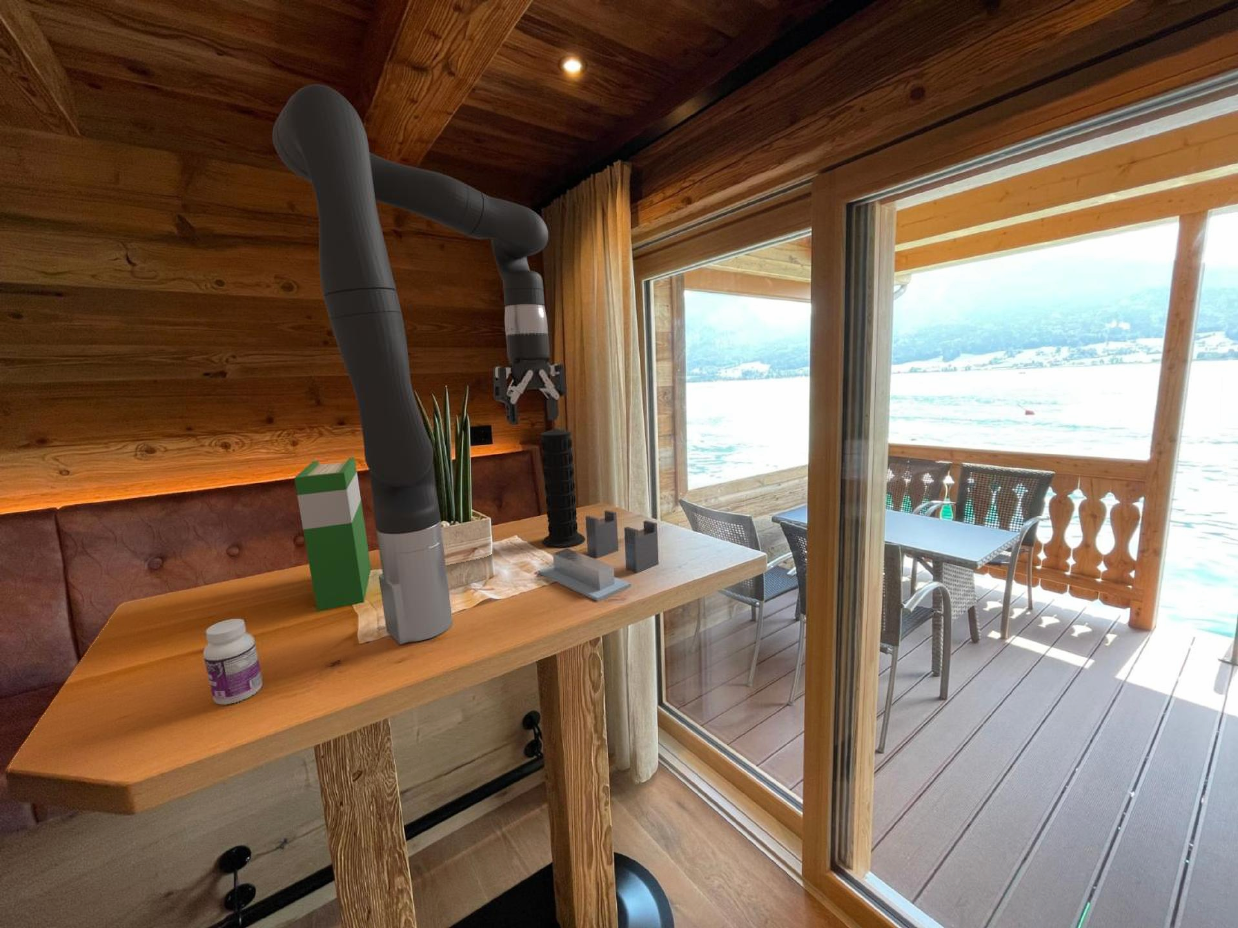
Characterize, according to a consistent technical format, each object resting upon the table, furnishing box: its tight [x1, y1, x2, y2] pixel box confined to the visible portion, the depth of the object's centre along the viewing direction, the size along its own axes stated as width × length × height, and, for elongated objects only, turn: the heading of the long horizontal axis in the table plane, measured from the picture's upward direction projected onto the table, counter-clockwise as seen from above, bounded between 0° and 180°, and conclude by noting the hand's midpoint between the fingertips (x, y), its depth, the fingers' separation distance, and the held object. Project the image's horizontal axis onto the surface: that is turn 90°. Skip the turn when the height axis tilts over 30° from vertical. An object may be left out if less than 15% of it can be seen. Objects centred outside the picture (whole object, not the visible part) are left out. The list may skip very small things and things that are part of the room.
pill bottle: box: [202, 618, 263, 706], centre depth 67 cm, size 5×5×10 cm
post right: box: [623, 519, 659, 574], centre depth 102 cm, size 6×3×9 cm, turn 133°
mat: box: [538, 565, 632, 602], centre depth 98 cm, size 8×18×1 cm, turn 43°
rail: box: [552, 548, 615, 590], centre depth 98 cm, size 4×14×4 cm, turn 43°
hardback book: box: [294, 456, 372, 612], centre depth 97 cm, size 18×7×24 cm, turn 22°
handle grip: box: [540, 428, 586, 549], centre depth 118 cm, size 10×26×10 cm
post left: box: [585, 509, 619, 559], centre depth 111 cm, size 6×3×9 cm, turn 132°
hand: (534, 422), depth 96 cm, fingers open, 8 cm apart
